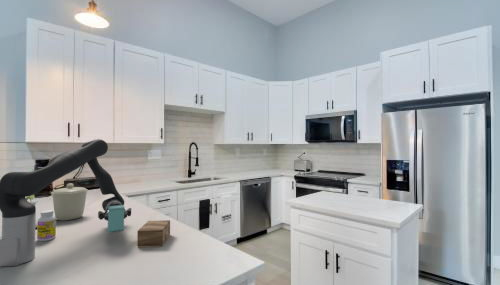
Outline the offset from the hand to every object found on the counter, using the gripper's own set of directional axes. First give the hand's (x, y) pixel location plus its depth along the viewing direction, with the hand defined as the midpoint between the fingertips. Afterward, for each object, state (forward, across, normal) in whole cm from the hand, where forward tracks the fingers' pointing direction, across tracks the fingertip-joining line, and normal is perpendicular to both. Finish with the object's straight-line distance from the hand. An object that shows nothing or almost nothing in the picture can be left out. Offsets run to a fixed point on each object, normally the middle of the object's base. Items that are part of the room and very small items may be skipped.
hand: (116, 217), depth 106 cm
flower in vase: (-50, -38, +12) cm, 64 cm away
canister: (-63, -22, +12) cm, 67 cm away
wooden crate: (+2, +16, +12) cm, 20 cm away
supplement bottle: (-26, -27, +12) cm, 40 cm away
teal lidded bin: (-2, 0, +6) cm, 6 cm away
